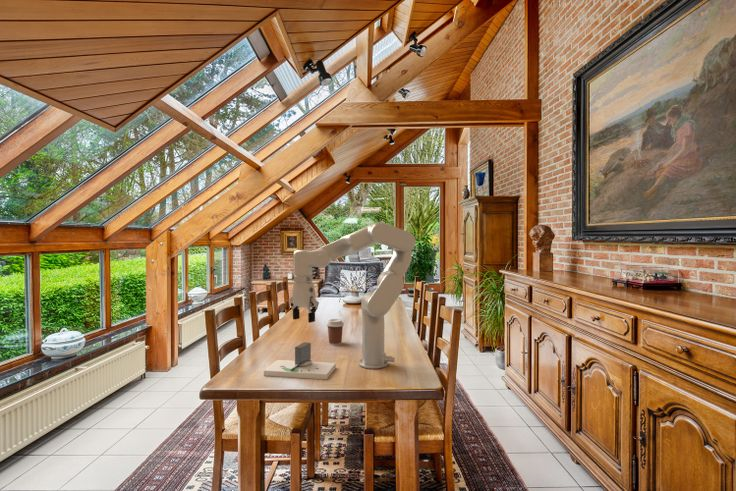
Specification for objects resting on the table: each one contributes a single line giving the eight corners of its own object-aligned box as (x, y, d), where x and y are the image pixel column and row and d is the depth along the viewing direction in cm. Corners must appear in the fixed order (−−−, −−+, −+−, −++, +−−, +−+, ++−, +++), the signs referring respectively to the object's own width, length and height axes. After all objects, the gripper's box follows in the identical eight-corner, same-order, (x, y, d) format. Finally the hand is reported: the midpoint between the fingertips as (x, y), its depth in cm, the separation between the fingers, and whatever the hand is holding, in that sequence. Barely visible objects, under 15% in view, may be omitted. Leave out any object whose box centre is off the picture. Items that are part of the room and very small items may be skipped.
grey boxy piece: (300, 360, 174) (300, 341, 174) (314, 361, 172) (314, 343, 172) (283, 370, 162) (283, 350, 161) (299, 372, 159) (299, 351, 159)
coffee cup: (325, 345, 205) (325, 322, 204) (327, 341, 214) (326, 318, 213) (343, 345, 205) (343, 322, 204) (344, 340, 214) (344, 318, 214)
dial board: (335, 367, 171) (335, 362, 171) (326, 379, 157) (326, 373, 157) (277, 364, 176) (277, 359, 176) (263, 375, 162) (263, 370, 162)
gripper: (324, 280, 166) (324, 321, 166) (296, 277, 177) (297, 316, 178) (310, 281, 160) (311, 324, 161) (282, 279, 171) (283, 319, 172)
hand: (303, 320), depth 169 cm, fingers open, 9 cm apart
